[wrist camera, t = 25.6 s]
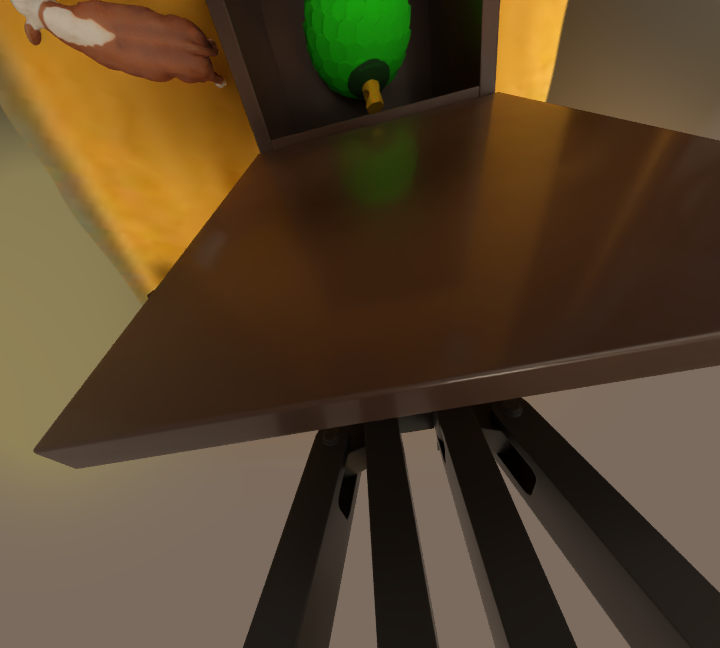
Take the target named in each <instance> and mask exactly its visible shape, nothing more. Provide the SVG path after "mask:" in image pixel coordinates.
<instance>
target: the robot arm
mask: <svg viewBox="0 0 720 648" xmlns="http://www.w3.org/2000/svg"><path fill="white" fill-rule="evenodd" d="M434 427H435V430H436V433H437V445H438V450H440V453H441V456H442V460H443V463H444V467H445V470H446V474H447V477H448V481H449V485H450V488H451V491H452V495H453V499H454V502H455V506H456V509H457V513H458V517H459V520H460V523H461V527H462V531H463V534H464V537H465V541H466V545H467V548H468V552H469V555H470V559H471V563H472V566H473V570H474V573H475V577H476V580H477V584H478V587H479V590H480V594H481V598H482V601H483V605H484V608H485V612H486V616H487V619H488V623H489V626H490V630H491V633H492V637H493V640H494V644H495V648H577V646H576V643H575V641H574V639H573V637H572V634H571V632H570V630H569V628H568V625H567V623H566V621H565V618H564V616H563V614H562V612H561V609H560V607H559V605H558V603H557V600H556V598H555V596H554V593H553V591H552V589H551V586H550V584H549V582H548V580H547V577H546V575H545V573H544V570H543V568H542V566H541V564H540V561H539V559H538V557H537V555H536V553H535V550H534V548H533V546H532V543H531V541H530V539H529V536H528V534H527V532H526V529H525V527H524V525H523V523H522V520H521V518H520V516H519V514H518V512H517V509H516V507H515V505H514V502H513V500H512V498H511V495H510V493H509V491H508V488H507V486H506V484H505V482H504V479H503V477H502V475H501V473H500V470H499V468H498V466H497V464H496V461H497V463H498V464H499V465H500V467H501V468H502V470H503V471H504V472H505V474H506V475H507V477H508V478H509V479H510V481H511V482H512V483H513V485H514V486H515V487H516V489H517V490H518V492H519V493H520V494H521V496H522V497H523V498H524V500H525V501H526V503H527V504H528V506H529V507H530V508H531V510H532V511H533V513H534V514H535V515H536V517H537V518H538V519H539V521H540V522H541V524H542V525H543V526H544V528H545V529H546V530H547V532H548V533H549V535H550V536H551V537H552V539H553V540H554V541H555V543H556V544H557V546H558V547H559V548H560V550H561V551H562V553H563V554H564V555H565V557H566V558H567V560H568V561H569V562H570V564H571V565H572V567H573V568H574V569H575V571H576V572H577V573H578V575H579V576H580V577H581V579H582V580H583V582H584V583H585V585H586V586H587V587H588V589H589V590H590V591H591V593H592V594H593V596H594V597H595V598H596V600H597V601H598V603H599V604H600V605H601V607H602V608H603V609H604V611H605V612H606V614H607V615H608V616H609V618H610V619H611V620H612V622H613V623H614V625H615V626H616V627H617V629H618V630H619V632H620V633H621V634H622V636H623V637H624V639H625V640H626V641H627V643H628V644H629V645H630V647H631V648H720V593H719V592H718V591H717V590H716V589H715V588H714V587H713V586H712V585H711V584H710V583H709V582H708V581H707V580H706V579H705V578H704V577H703V576H702V575H701V574H700V573H699V572H698V571H697V570H696V569H695V568H694V567H693V566H692V565H691V564H690V563H689V562H688V561H687V560H686V559H685V558H684V557H683V556H682V555H681V554H680V553H679V552H678V551H677V550H676V549H675V548H674V547H673V546H672V545H671V544H670V543H669V542H668V541H667V540H666V539H665V538H664V537H663V536H662V535H661V534H660V533H659V532H658V531H657V530H656V529H655V528H654V527H653V526H652V525H651V524H650V523H649V522H648V521H647V520H646V519H645V518H644V517H643V516H642V515H641V514H640V513H639V512H638V511H637V510H635V508H634V507H633V506H632V505H631V504H630V503H629V502H628V501H627V500H626V499H625V498H624V497H622V495H621V494H620V493H619V492H617V490H616V489H614V487H612V486H611V485H610V484H609V483H608V482H607V481H606V480H605V479H604V478H603V477H602V476H601V475H600V474H599V473H598V472H597V471H596V470H595V469H594V468H593V467H592V466H591V465H590V464H589V463H588V462H587V461H586V460H585V459H584V458H583V457H582V456H581V455H580V454H579V453H578V452H577V451H576V450H575V449H574V448H573V447H572V446H571V445H570V444H569V443H568V442H567V441H566V440H565V439H564V438H563V437H562V436H561V435H560V434H559V433H558V432H557V431H556V430H555V429H554V428H553V427H552V426H551V425H550V424H549V423H548V422H547V421H546V420H545V419H544V418H543V417H542V416H541V415H540V414H539V413H538V412H537V411H536V410H535V409H534V408H533V407H532V406H531V405H530V404H529V403H528V402H527V401H525V400H524V399H523V398H521V397H520V398H513V399H507V400H501V401H495V402H489V403H482V404H476V405H470V406H464V407H458V408H451V409H445V410H439V411H433V412H427V413H420V414H414V415H408V416H402V417H396V418H389V419H383V420H377V421H371V422H365V423H358V424H352V425H346V426H340V427H334V428H327V429H321V430H319V431H318V433H317V435H316V437H315V440H314V443H313V446H312V448H311V451H310V454H309V457H308V460H307V463H306V466H305V469H304V472H303V475H302V477H301V481H300V484H299V486H298V489H297V492H296V495H295V498H294V501H293V504H292V507H291V509H290V512H289V515H288V518H287V521H286V524H285V527H284V530H283V533H282V536H281V539H280V542H279V544H278V547H277V550H276V553H275V556H274V559H273V562H272V565H271V568H270V571H269V574H268V576H267V579H266V582H265V585H264V588H263V591H262V594H261V597H260V600H259V603H258V605H257V608H256V611H255V614H254V617H253V620H252V623H251V626H250V629H249V632H248V635H247V637H246V640H245V643H244V646H243V648H328V647H329V643H330V637H331V632H332V627H333V621H334V616H335V610H336V605H337V600H338V594H339V589H340V583H341V578H342V572H343V567H344V562H345V557H346V551H347V546H348V541H349V535H350V530H351V524H352V519H353V514H354V508H355V503H356V498H357V493H358V487H359V482H360V476H361V472H362V471H363V470H365V469H367V480H368V481H367V482H368V498H369V514H370V531H371V547H372V564H373V581H374V598H375V615H376V632H377V648H439V644H438V638H437V632H436V627H435V621H434V616H433V610H432V604H431V599H430V593H429V587H428V582H427V576H426V571H425V565H424V560H423V554H422V548H421V543H420V537H419V532H418V526H417V520H416V515H415V509H414V503H413V498H412V492H411V486H410V481H409V475H408V470H407V464H406V459H405V453H404V447H403V442H402V438H401V433H406V432H413V431H419V430H426V429H432V428H434ZM495 460H496V461H495Z"/></svg>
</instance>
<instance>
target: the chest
mask: <svg viewBox="0 0 720 648" xmlns="http://www.w3.org/2000/svg"><path fill="white" fill-rule="evenodd" d="M206 3H207V6H208V8H209V11H210V14H211V17H212V19H213V22H214V25H215V28H216V31H217V33H218V36H219V39H220V42H221V45H222V47H223V50H224V53H225V56H226V58H227V61H228V64H229V67H230V70H231V72H232V75H233V78H234V81H235V84H236V86H237V89H238V92H239V95H240V97H241V100H242V103H243V106H244V109H245V111H246V114H247V117H248V120H249V123H250V125H251V128H252V131H253V134H254V136H255V139H256V142H257V145H258V148H259V150H260V153H265V152H268V151H272V150H276V149H280V148H284V147H288V146H292V145H296V144H299V143H303V142H307V141H311V140H315V139H319V138H323V137H326V136H330V135H334V134H338V133H342V132H346V131H350V130H354V129H357V128H361V127H365V126H369V125H373V124H377V123H381V122H385V121H388V120H392V119H396V118H400V117H404V116H408V115H412V114H416V113H419V112H423V111H427V110H431V109H435V108H439V107H443V106H447V105H450V104H454V103H458V102H462V101H466V100H470V99H474V98H478V97H481V96H485V95H489V94H493V93H495V81H496V63H497V45H498V27H499V9H500V0H408V4H409V5H411V17H410V26H409V29H410V30H411V35H410V40H409V43H408V47H407V49H406V52H405V53H406V56H405V59H404V61H403V63H402V65H401V66H400V68H399V69H398V71H397V74H396V77H395V78H394V79H393V80H392V81H391V82H390V83H389V84H388V85H387V86H385V87H384V89H383V90H382V91H381V92H380V94H381V96H382V100H383V103H384V106H383V108H382V110H381V111H380V112H377V113H373V114H369V113H368V111H367V108H366V105H367V104H366V100H365V98H363V99H355V98H348V97H345V96H342V95H340V94H339V93H336V92H334V91H332V90H331V89H330V88H329V86H328V84H326V83H325V82H324V81H323V80H322V79H321V78H320V77H319V75H318V74H319V73H318V72H317V71H316V70H315V68H314V66H313V64H312V61H311V59H310V58H311V57H310V56H309V53H308V51H307V47H306V44H307V43H306V40H305V38H306V37H305V33H304V29H303V22H304V20H305V16H304V0H206Z"/></svg>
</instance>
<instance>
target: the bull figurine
mask: <svg viewBox="0 0 720 648" xmlns="http://www.w3.org/2000/svg"><path fill="white" fill-rule="evenodd" d="M11 2H12V4H13V5H14V7H15V8H16V9H17V10H18V11H19V12H20V13H21V14H23V15H24V16H25V17H26V18H27V21H26V23H25V32H26V35H27V37H28V39H29V41H30V42H31V43H32V44H33V45H39V44H40V42H41V32H40V29H41V28H44V29H47V30H48V31H50V32H51V33H52V34H53V35H54V36H56V37H57V38H58V39H60V40H61V41H62V42H64V43H65V44H67V45H68V46H70V47H72V48H74V49H76V50H78V51H80V52H82V53H84V54H85V55H87V56H88V57H90V58H92V59H93V60H95V61H96V62H98V63H99V64H101V65H103V66H105V67H107V68H109V69H112V70H118V71H123V72H125V73H128V74H130V75H133V76H137V77H141V78H145V79H148V80H151V81H156V82H166V81H169V80H172V79H173V78H175V77H176V78H178V79H180V80H182V81H183V82H186V83H198V82H207V81H211V82H214V83H215V85H216V86H217V87H218V88H223V86H226V85H227V83H226V80H225V78H223V77H222V76H220V75H218V74H217V73H216V72H214V68H213V64H212V62H211V60H210V58H209V57H210V56H217V55H218V49H217V46H216V43H215V42H214V41H213V40H212V39H209V40H207V38H206V36H205V34H204V33H203V32H202V30H200V29H199V28H198V27H197V26H196V25H195V24H194V23H192V22H191V21H189V20H187V19H185V18H181V17H178V16H176V15H166V16H164V15H161V14H159V13H156V12H154V11H153V10H151V9H149V8H147V7H143V6H136V5H124V4H116V3H108V2H102V1H98V0H91V1H85V2H79V3H78V4H77V5H73V6H67V5H62V4H59V3H58V2H56V1H55V0H11Z"/></svg>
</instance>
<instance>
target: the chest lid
mask: <svg viewBox="0 0 720 648" xmlns="http://www.w3.org/2000/svg"><path fill="white" fill-rule="evenodd" d="M718 365H720V141H719V140H714V139H709V138H705V137H700V136H696V135H691V134H687V133H682V132H678V131H673V130H668V129H664V128H659V127H654V126H650V125H646V124H641V123H637V122H632V121H627V120H623V119H618V118H613V117H609V116H605V115H600V114H596V113H591V112H586V111H582V110H577V109H573V108H568V107H564V106H559V105H555V104H550V103H546V102H541V101H537V100H532V99H527V98H523V97H518V96H514V95H509V94H505V93H500V92H497V93H493V94H489V95H485V96H481V97H478V98H474V99H470V100H466V101H462V102H458V103H454V104H450V105H447V106H443V107H439V108H435V109H431V110H427V111H423V112H419V113H416V114H412V115H408V116H404V117H400V118H396V119H392V120H388V121H385V122H381V123H377V124H373V125H369V126H365V127H361V128H357V129H354V130H350V131H346V132H342V133H338V134H334V135H330V136H326V137H323V138H319V139H315V140H311V141H307V142H303V143H299V144H296V145H292V146H288V147H284V148H280V149H276V150H272V151H268V152H265V153H261V154H258V156H257V157H256V158H255V160H254V161H253V162H252V163H251V165H250V166H249V167H248V169H247V170H246V171H245V173H244V174H243V175H242V177H241V178H240V179H239V180H238V182H237V183H236V184H235V186H234V187H233V188H232V190H231V191H230V192H229V194H228V195H227V196H226V198H225V199H224V200H223V201H222V203H221V204H220V205H219V207H218V208H217V209H216V211H215V212H214V213H213V215H212V216H211V217H210V219H209V220H208V221H207V222H206V224H205V225H204V226H203V228H202V229H201V230H200V232H199V233H198V234H197V236H196V237H195V238H194V239H193V241H192V242H191V243H190V245H189V246H188V247H187V249H186V250H185V251H184V253H183V254H182V255H181V257H180V258H179V259H178V260H177V262H176V263H175V264H174V266H173V267H172V268H171V270H170V271H169V272H168V274H167V275H166V276H165V277H164V279H163V280H162V281H161V283H160V284H159V285H158V287H157V288H156V289H155V291H154V292H153V293H152V295H151V296H150V297H149V298H148V300H147V301H146V302H145V304H144V305H143V306H142V308H141V309H140V310H139V312H138V313H137V314H136V316H135V317H134V318H133V320H132V321H131V322H130V324H129V325H128V326H127V327H126V329H125V330H124V332H123V333H122V334H121V335H120V337H119V338H118V339H117V340H116V342H115V343H114V344H113V346H112V347H111V348H110V350H109V351H108V352H107V354H106V355H105V356H104V358H103V359H102V360H101V362H100V363H99V364H98V365H97V367H96V368H95V369H94V371H93V372H92V373H91V375H90V376H89V377H88V379H87V380H86V381H85V382H84V384H83V385H82V386H81V388H80V389H79V390H78V392H77V393H76V394H75V395H74V397H73V398H72V399H71V401H70V402H69V403H68V405H67V406H66V407H65V409H64V410H63V411H62V413H61V414H60V415H59V416H58V418H57V419H56V420H55V422H54V423H53V424H52V426H51V427H50V428H49V430H48V431H47V432H46V434H45V435H44V436H43V437H42V439H41V440H40V441H39V443H38V444H37V445H36V447H35V448H34V453H36V454H39V455H41V456H44V457H46V458H49V459H52V460H54V461H57V462H60V463H62V464H65V465H67V466H70V467H73V468H76V469H79V468H85V467H92V466H98V465H104V464H110V463H116V462H123V461H129V460H135V459H141V458H147V457H154V456H160V455H165V454H172V453H178V452H185V451H190V450H197V449H203V448H209V447H215V446H222V445H228V444H234V443H240V442H246V441H252V440H259V439H265V438H271V437H277V436H284V435H290V434H296V433H302V432H309V431H315V430H321V429H327V428H334V427H340V426H346V425H352V424H358V423H365V422H371V421H377V420H383V419H389V418H396V417H402V416H408V415H414V414H420V413H427V412H433V411H439V410H445V409H451V408H458V407H464V406H470V405H476V404H482V403H489V402H495V401H501V400H507V399H513V398H520V397H526V396H531V395H538V394H544V393H551V392H557V391H563V390H569V389H576V388H582V387H588V386H594V385H600V384H607V383H613V382H619V381H625V380H631V379H637V378H644V377H650V376H656V375H662V374H668V373H675V372H681V371H687V370H693V369H700V368H705V367H712V366H718Z"/></svg>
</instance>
